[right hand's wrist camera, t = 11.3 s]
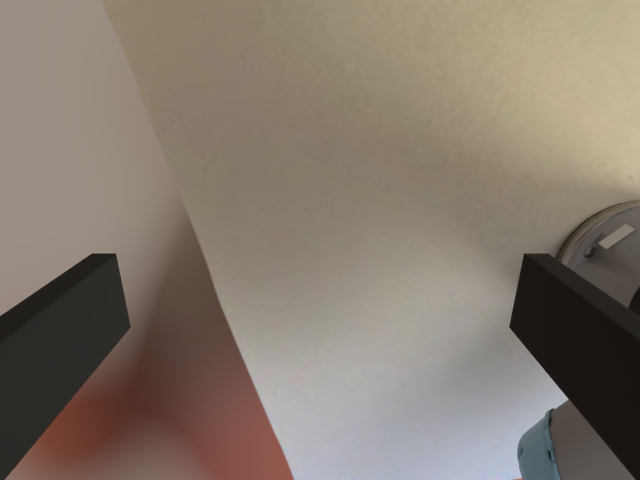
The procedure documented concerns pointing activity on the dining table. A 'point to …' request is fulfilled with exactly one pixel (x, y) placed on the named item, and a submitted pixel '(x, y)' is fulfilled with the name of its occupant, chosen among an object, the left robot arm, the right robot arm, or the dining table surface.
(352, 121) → the dining table surface
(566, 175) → the dining table surface
